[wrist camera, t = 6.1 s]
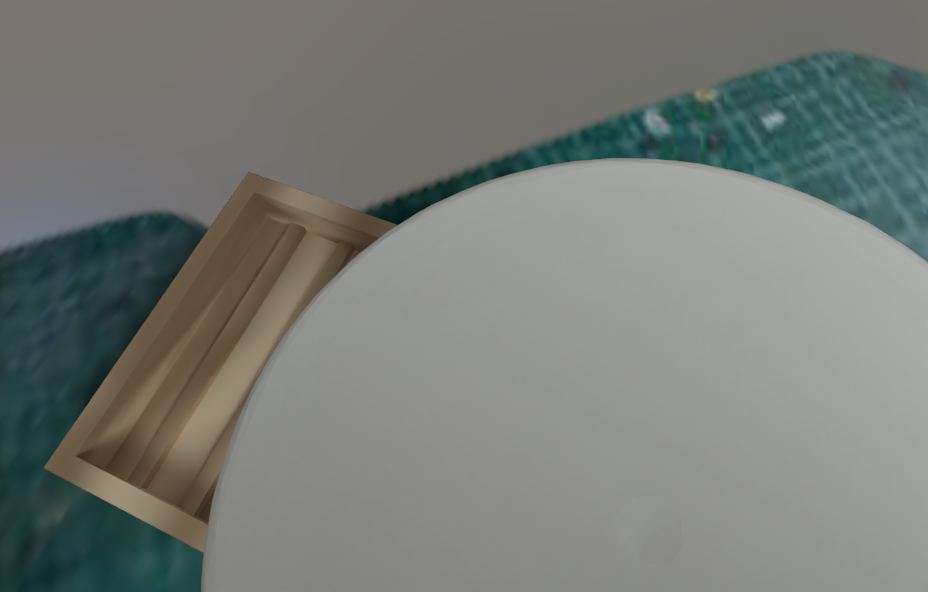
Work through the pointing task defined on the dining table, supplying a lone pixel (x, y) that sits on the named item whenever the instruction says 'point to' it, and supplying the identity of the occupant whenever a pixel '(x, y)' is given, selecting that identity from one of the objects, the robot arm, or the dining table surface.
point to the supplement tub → (593, 399)
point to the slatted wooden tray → (207, 354)
